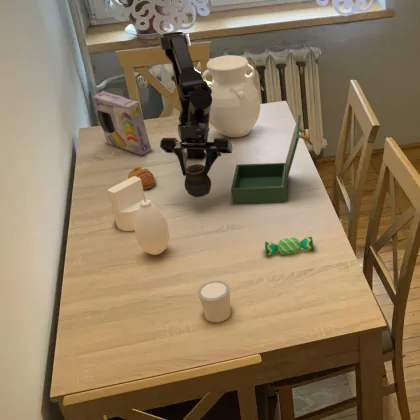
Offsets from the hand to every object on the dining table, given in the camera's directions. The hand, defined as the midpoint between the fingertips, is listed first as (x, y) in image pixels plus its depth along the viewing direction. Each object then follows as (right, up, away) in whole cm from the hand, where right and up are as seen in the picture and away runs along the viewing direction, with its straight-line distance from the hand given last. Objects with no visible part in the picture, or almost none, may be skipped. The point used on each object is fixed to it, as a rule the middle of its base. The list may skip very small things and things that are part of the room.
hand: (194, 175), depth 179 cm
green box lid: (+25, +8, +8) cm, 28 cm away
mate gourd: (0, -5, +5) cm, 7 cm away
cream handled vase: (+2, +18, +49) cm, 52 cm away
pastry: (-20, -1, +20) cm, 29 cm away
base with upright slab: (-17, -13, +2) cm, 21 cm away
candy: (+27, -20, -11) cm, 36 cm away
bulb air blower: (-7, -20, -10) cm, 24 cm away
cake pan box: (-32, +12, +40) cm, 53 cm away
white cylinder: (+13, -33, -31) cm, 47 cm away
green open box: (+16, -4, +15) cm, 22 cm away
